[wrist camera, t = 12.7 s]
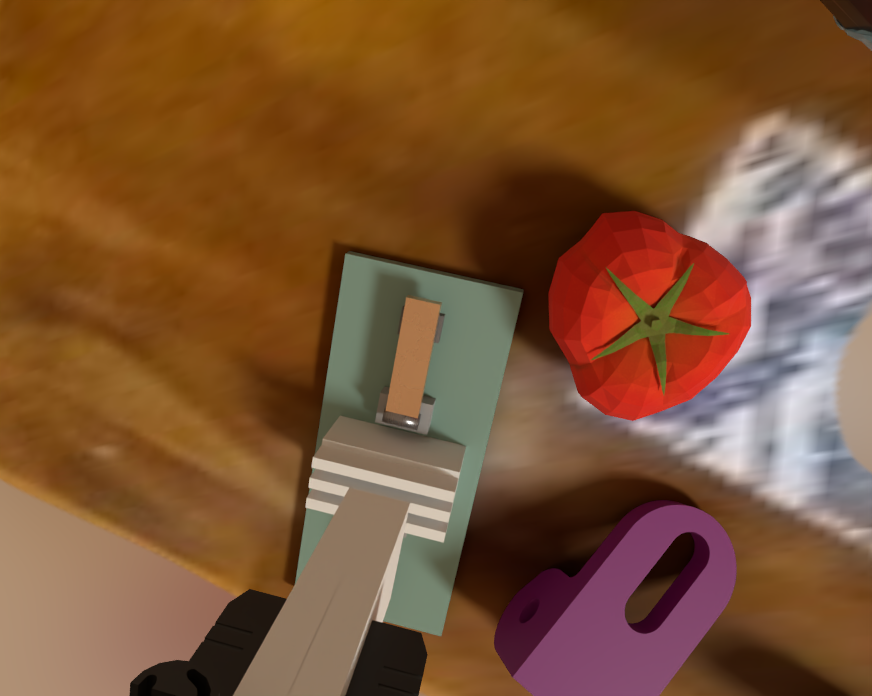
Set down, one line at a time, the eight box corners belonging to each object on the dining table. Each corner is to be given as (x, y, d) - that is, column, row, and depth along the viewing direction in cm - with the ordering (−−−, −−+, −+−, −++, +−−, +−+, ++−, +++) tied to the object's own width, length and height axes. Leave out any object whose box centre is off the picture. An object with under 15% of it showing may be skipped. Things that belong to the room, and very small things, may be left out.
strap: (407, 293, 47) (404, 297, 46) (443, 302, 47) (441, 305, 46) (384, 418, 50) (381, 424, 49) (418, 426, 50) (415, 432, 49)
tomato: (740, 379, 48) (782, 427, 40) (562, 402, 51) (567, 452, 42) (722, 183, 45) (764, 192, 37) (533, 219, 47) (532, 234, 39)
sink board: (349, 251, 50) (317, 268, 43) (523, 289, 49) (520, 313, 41) (297, 588, 59) (264, 649, 52) (443, 626, 58) (429, 694, 51)
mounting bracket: (621, 464, 58) (484, 632, 55) (671, 478, 49) (512, 676, 47) (699, 536, 59) (567, 705, 56) (760, 562, 50) (608, 761, 48)
